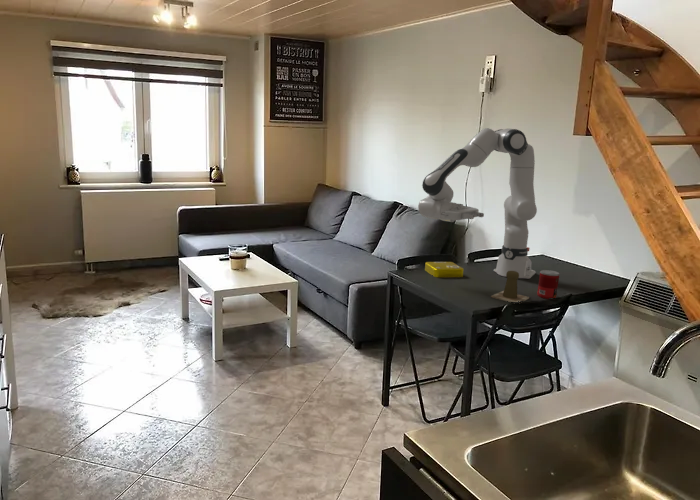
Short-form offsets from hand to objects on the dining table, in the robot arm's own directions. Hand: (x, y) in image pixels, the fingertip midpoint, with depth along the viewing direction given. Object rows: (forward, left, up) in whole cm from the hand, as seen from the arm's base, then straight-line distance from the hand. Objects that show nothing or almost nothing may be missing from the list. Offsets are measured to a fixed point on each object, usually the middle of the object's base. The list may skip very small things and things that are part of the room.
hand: (478, 216), depth 254 cm
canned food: (-11, +31, -32) cm, 46 cm away
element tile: (-10, -20, -32) cm, 39 cm away
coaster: (+4, +21, -32) cm, 38 cm away
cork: (+4, +21, -31) cm, 38 cm away
